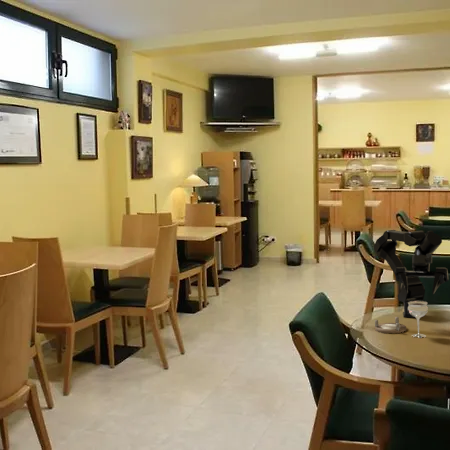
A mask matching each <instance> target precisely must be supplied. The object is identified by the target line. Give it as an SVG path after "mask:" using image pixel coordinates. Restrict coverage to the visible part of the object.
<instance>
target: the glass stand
mask: <svg viewBox="0 0 450 450" xmlns="http://www.w3.org/2000/svg"><path fill="white" fill-rule="evenodd" d="M394 320H395V321H394V322H385V323H379V319H374V329H375V331H376V332H377V331H378V332H377V333H380V332H382V333H381V334H387V333H392V334H391V335H393V333H397V334H402V333H405V332H406V331H407V326H406V325H405V324H403V323H400V321H399V320H400V319H399V316H395V318H394ZM404 331H405V332H404ZM401 332H402V333H401Z"/></svg>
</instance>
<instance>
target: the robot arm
mask: <svg viewBox="0 0 450 450" xmlns="http://www.w3.org/2000/svg"><path fill="white" fill-rule="evenodd" d="M398 242H403V243H404V244H405V246H408V247H415V249H414V251H413V255H412V260H411V261H412V262H411V263H412V266H411V268H412V270H407V268H406V267H405V265H404V264H403V262H402V261H401V259H400V258H399V256H398V255H397V254H396V252H397V251H396V250H397V248H396V247H397V246H398ZM442 243H443V240H442V236H440V235H439V234H437V233H434V230H427V231H426V233H425V231H424V230H417V231H415V230H414V231H401V230H396V229H390V230H388V229H387V230H385V231H384V232H383V234H382V235H381V236H379V237H378V238H377V239H376V241H375V242H374V245H373V251H374V252H375V254H376V255H377V256H378V257H379V258H381V259H383V260H385V262H386V263H387V265H388V266H389V268H390V269H391V270H392V272H393V274H394V275H395V280H396V281H397V282H399V283H400V292H398V294H397V298H398V299H397V300H398V301H399V302H402V303H403V312H402V317H403V318H415V317H414V316H412V315H411V314H410V313H409V311H408V306H409V304H408V302H410V301H424V300H425V299H424V298H425V293H426V288H425V286H424V284H423V282H422V281H421V279H420V278H434V279H433V285H432V292H431V293H432V295H434V294H436V291H437V290H438V288H439V287H440V286H441V285H442V284H445V283H448V281H449V271H448V268H446V267H435V271H430V266H431V264H433V254H432V253H435V252H436V250H437V249H439V247H440V246H441V244H442Z"/></svg>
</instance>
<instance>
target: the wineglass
mask: <svg viewBox="0 0 450 450" xmlns="http://www.w3.org/2000/svg"><path fill="white" fill-rule="evenodd" d="M408 304H409V306H408V311H409V313H410V314H411V315H412V316H414V317H413V318H415V319H416V323H417V333H414V334H411V337H412V336H413V338H414V337H418V338H417V339H423V338H422V337H424V338H426V337H427V335H426V334H423V333H420V319H421V318H422V317H424V316H425V315H427V313H428V312H429V307H428V306H427V305H428V302H427V301H424V300H420V301H410V302H408Z"/></svg>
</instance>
